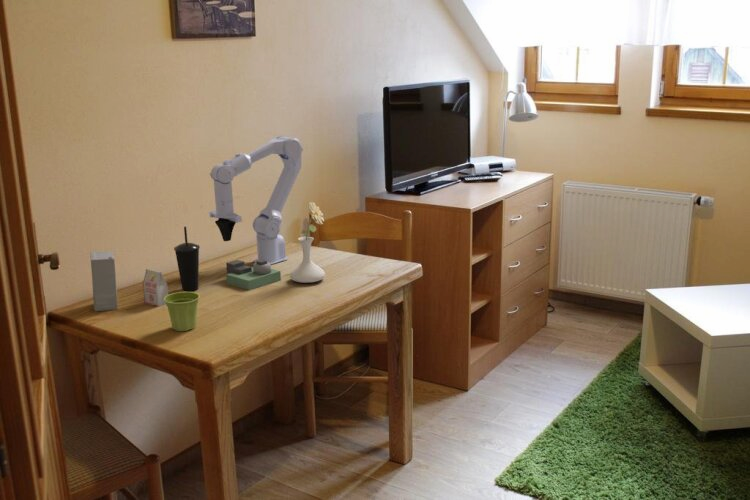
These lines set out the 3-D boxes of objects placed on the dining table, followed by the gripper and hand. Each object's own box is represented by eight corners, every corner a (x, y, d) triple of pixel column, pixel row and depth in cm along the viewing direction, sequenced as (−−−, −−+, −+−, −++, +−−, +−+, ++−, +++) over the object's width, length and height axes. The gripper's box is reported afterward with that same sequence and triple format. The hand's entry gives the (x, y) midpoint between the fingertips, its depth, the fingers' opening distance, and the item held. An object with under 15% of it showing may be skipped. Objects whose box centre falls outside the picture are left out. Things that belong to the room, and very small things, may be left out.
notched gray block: (238, 276, 253) (237, 259, 252) (252, 280, 249) (251, 263, 247) (227, 279, 250) (226, 262, 249) (241, 283, 246) (240, 266, 244)
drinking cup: (196, 293, 236) (191, 230, 231) (173, 292, 238) (167, 229, 233) (207, 286, 244) (201, 224, 238) (184, 285, 245) (178, 223, 240)
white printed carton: (154, 299, 232) (151, 267, 230) (169, 303, 228) (166, 271, 226) (144, 302, 229) (141, 270, 227) (158, 306, 225) (155, 274, 223)
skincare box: (93, 303, 229) (87, 252, 225) (118, 300, 232) (113, 249, 228) (94, 312, 222) (87, 259, 218) (120, 309, 224) (114, 256, 220)
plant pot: (205, 321, 213) (202, 291, 211) (198, 333, 204) (196, 302, 202) (170, 322, 213) (168, 292, 210) (163, 334, 204) (159, 303, 201)
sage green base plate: (258, 274, 255) (257, 254, 254) (280, 280, 248) (279, 259, 246) (226, 283, 246) (225, 262, 244) (249, 290, 239) (247, 268, 237)
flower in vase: (309, 288, 240) (305, 208, 233) (282, 282, 246) (278, 204, 240) (336, 277, 250) (333, 201, 243) (309, 272, 256) (306, 197, 250)
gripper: (200, 200, 258) (204, 239, 261) (228, 205, 248) (231, 246, 252) (217, 196, 263) (220, 235, 266) (245, 201, 254) (248, 241, 257)
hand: (227, 240), depth 259 cm, fingers closed
